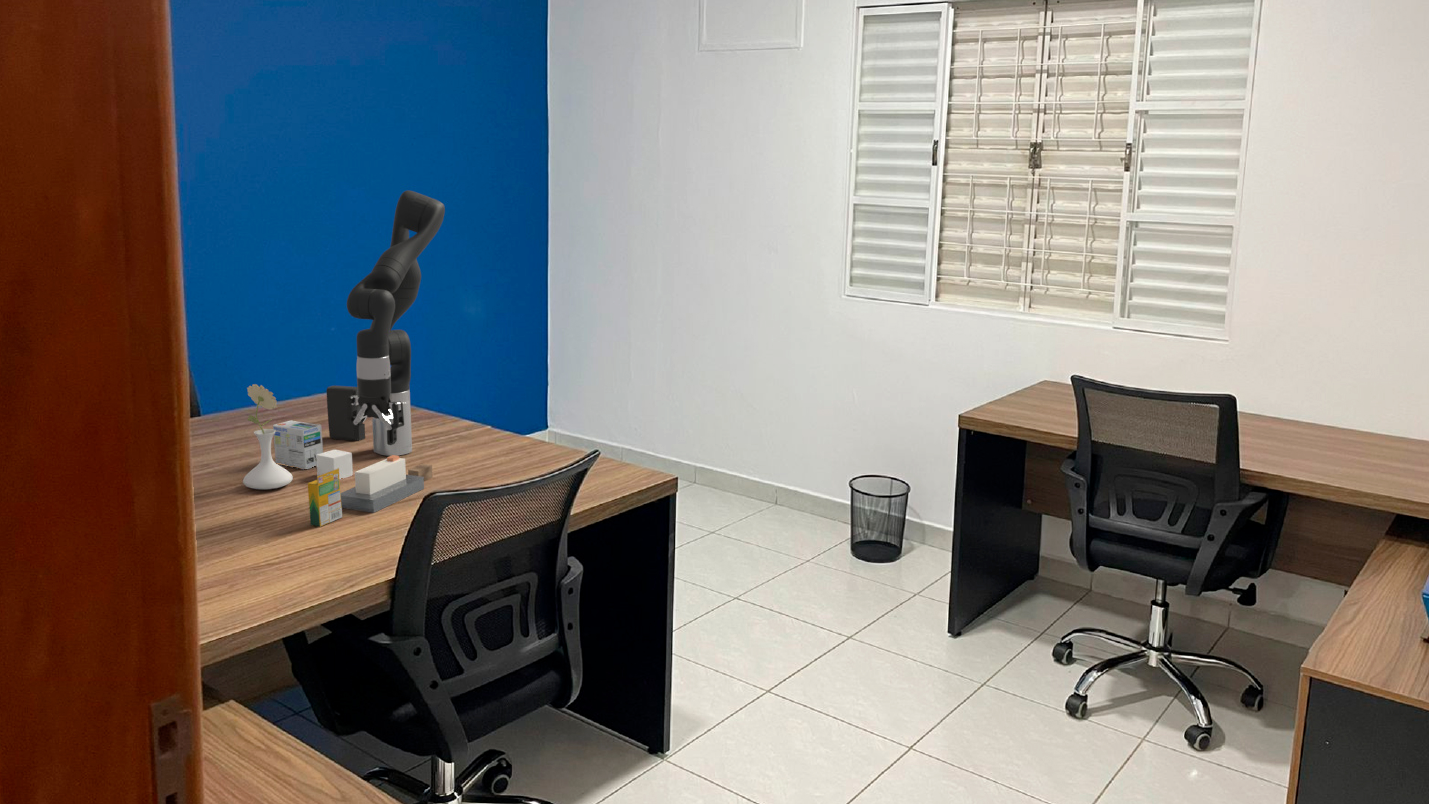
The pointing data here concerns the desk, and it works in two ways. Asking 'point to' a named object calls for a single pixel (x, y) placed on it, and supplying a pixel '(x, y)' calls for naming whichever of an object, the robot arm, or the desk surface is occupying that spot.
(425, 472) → the walnut stand
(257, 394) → the flower in vase
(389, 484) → the white plug-in block
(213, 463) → the desk surface
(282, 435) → the light bulb box
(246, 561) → the desk surface
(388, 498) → the mounting plate
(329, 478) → the crayon box
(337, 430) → the black upright block
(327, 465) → the white cube
